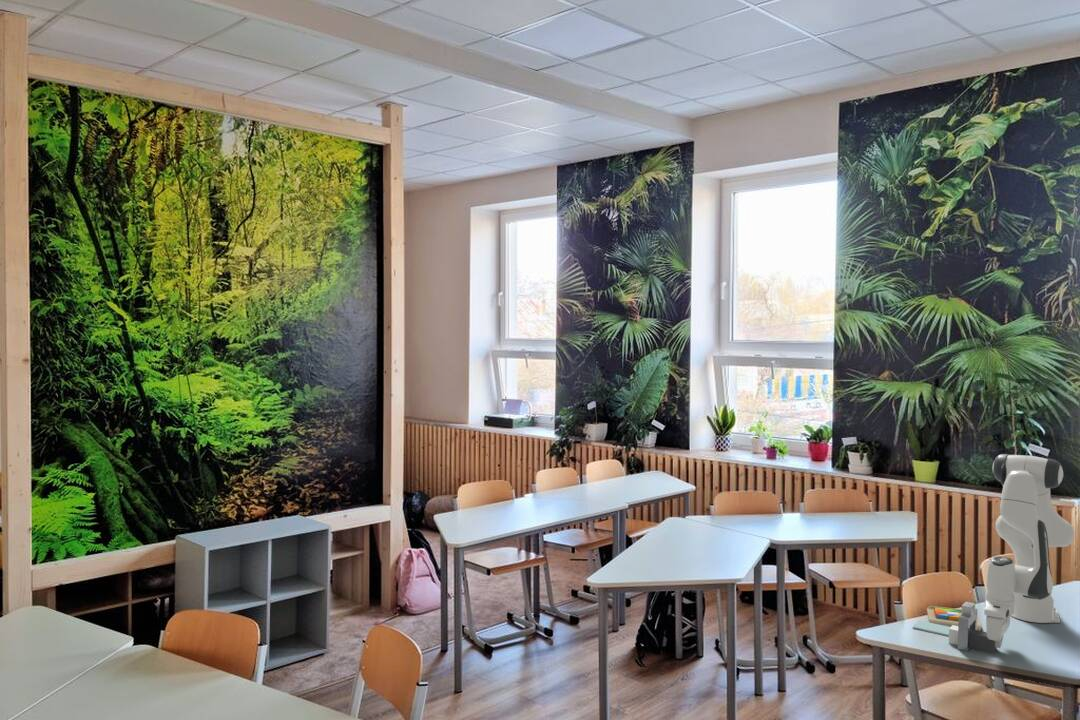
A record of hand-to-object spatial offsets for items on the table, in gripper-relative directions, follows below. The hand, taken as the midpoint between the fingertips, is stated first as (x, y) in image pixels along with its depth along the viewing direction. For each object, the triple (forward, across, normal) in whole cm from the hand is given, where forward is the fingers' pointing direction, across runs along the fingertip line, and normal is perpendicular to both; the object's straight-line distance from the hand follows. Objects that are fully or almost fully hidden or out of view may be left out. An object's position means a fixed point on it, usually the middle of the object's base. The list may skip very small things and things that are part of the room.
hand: (998, 646), depth 286 cm
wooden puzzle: (+2, -25, -19) cm, 32 cm away
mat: (+2, -9, -20) cm, 22 cm away
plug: (+2, 0, -8) cm, 8 cm away
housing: (+2, 0, -10) cm, 10 cm away
